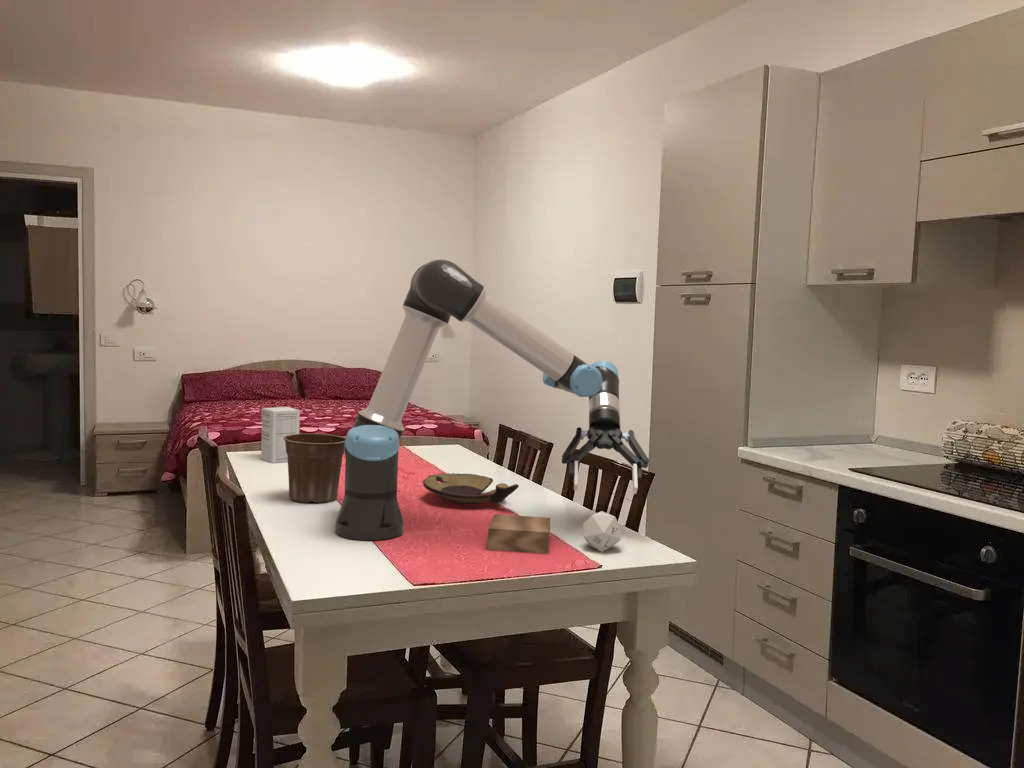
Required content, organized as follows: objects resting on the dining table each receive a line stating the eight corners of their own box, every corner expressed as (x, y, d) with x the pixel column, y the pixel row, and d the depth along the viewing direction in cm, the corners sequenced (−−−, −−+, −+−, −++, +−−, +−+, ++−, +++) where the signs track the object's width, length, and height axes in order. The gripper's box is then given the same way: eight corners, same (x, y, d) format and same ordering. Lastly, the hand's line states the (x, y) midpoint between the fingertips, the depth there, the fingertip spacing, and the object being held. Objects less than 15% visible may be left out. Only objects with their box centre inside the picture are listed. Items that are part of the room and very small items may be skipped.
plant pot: (358, 497, 219) (360, 437, 218) (319, 508, 204) (321, 444, 203) (309, 489, 226) (310, 431, 224) (268, 500, 211) (270, 437, 210)
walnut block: (487, 551, 176) (488, 528, 176) (493, 535, 189) (494, 514, 189) (547, 555, 175) (549, 532, 175) (549, 539, 188) (550, 517, 188)
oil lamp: (482, 488, 238) (483, 462, 237) (532, 513, 211) (533, 483, 211) (409, 493, 228) (410, 465, 227) (452, 519, 201) (453, 488, 200)
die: (580, 555, 177) (606, 525, 174) (569, 527, 184) (595, 497, 181) (608, 564, 181) (635, 535, 178) (597, 537, 188) (622, 508, 184)
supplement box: (287, 456, 274) (289, 406, 272) (299, 461, 266) (301, 409, 265) (259, 458, 267) (261, 407, 266) (271, 463, 260) (272, 410, 259)
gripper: (653, 427, 204) (658, 500, 190) (552, 422, 205) (550, 495, 191) (657, 408, 198) (662, 482, 184) (554, 403, 199) (551, 477, 185)
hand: (605, 489), depth 188 cm, fingers open, 13 cm apart
